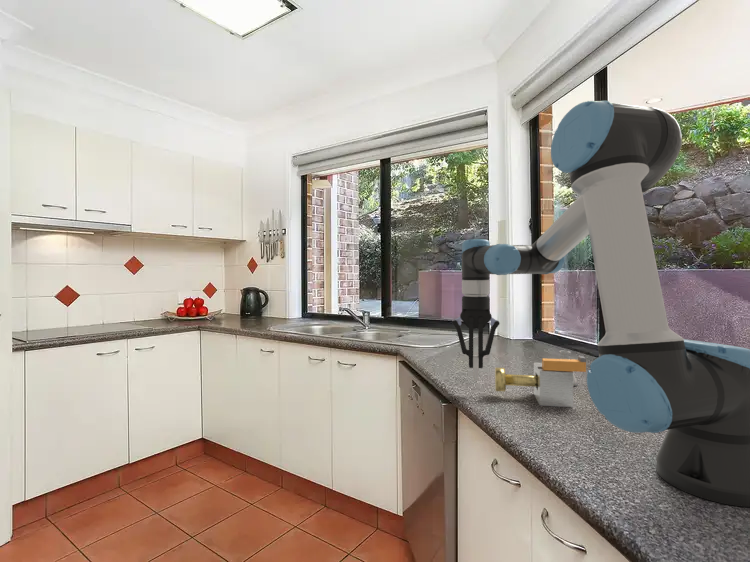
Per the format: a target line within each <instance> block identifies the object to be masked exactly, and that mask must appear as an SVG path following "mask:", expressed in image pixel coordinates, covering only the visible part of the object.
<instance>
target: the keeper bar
mask: <svg viewBox="0 0 750 562" xmlns="http://www.w3.org/2000/svg"><path fill="white" fill-rule="evenodd" d="M541 363H542V368H543V370H550V371H573V373H574V372H578V373H580V372H582V373H586V372H587V358H586V357H585V356H584V355H577V359H575V358H573V359H572V358H571V359H560V358H545V357H544V358H541Z"/></svg>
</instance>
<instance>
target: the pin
mask: <svg viewBox="0 0 750 562" xmlns="http://www.w3.org/2000/svg"><path fill="white" fill-rule="evenodd" d="M506 386H513V387H514V386H516V387H532V388H534V387H538V376H537V375H534V374H512V373H511V374H510V373H506V368H505V367H494V388H495V389H494V390H495V392H506V388H507V387H506Z"/></svg>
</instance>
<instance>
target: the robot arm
mask: <svg viewBox="0 0 750 562" xmlns="http://www.w3.org/2000/svg"><path fill="white" fill-rule="evenodd" d="M682 136H683V135H682V131H681V127H680V124H679V123H678V121H677V120H676V118H675V117H674V116H673V115H672V114H671V113H669V112H667V111H665V110H664V109H662V108H657V107H652V106H639V105H631V104H624V103H623V104H622V103H615V102H611V101H609V100H597V101H596V100H587V101H583V102H580V103H578V104H577V105H575V106H573V107H572V108H571V109H569V111H568V112H567V113H566V114H565V115H564V116H563V117H562V119H561V120H560V122H559V123H558V125H557V128H556V130H555V132H554V135H553V137H552V141H551V146H550V158H551V162H552V164H553V166H554V167H555V168H556V169H558V170H559V172H560V171H561V172H562V173H564V174H569V180H570V186H571V190H572V192H574V193H576V194H577V195H579V196H578V197H577V198H576V199H575V201H573V202H572V204H570V206H568V208H566V210H565V211H563V213H562V214H561V215H560V216H559V217H558V218H557V219H556V220H555V221H554V222H553V223H552V224H551V225H550V226H549V227H548V228H547V229H546V230H545V231H544V232H543V233H542V235H540V236H539V238H537V239H536V240H535V242H534V243H532V244H510V243H509V244H508V243H496V244H492V245H490V241H489V240H488V239H481V238H480V239H479V238H478V239H477V238H475V239H474V238H473V239H466V240H465V239H464V240H463V242H462V243H461V245H462V246H461V278H462V279H461V294H462V296H461V312H460V314H459V317H457V318H455V319H453V320H452V325H453V326H454V327H455V329H456V332H457V337H458V341H459V345H460V349H461V353H462V354H463V355H465V356H468V368H469V369H472V380H473V381H476V382H479V380H480V379H479V377H480V375H479V373H480V370H479V369H483V367H484V357H485V356H489V355H490V354H491V349H492V345H493V341H494V337H495V334H496V331H497V329H498V327H499V325H500V324H501V323H500V321H499V320H498V319H496V318H494V317H492V313H491V311H490V310H491V309H490V308H491V307H490V306H491V304H490V303H491V302H490V300H491V299H490V298H491V297H490V296H489V294H490V293H491V292H490V291H491V288H490V287H491V286H490V284H491V283H490V281H491V280H490V278H491V277H490V276H491V275H497V276H507V275H537V274H538V275H548V274H549V275H550V274H556V273H558V272H560V271H561V270H562V269H563V265H564V264H565V259H566V257H565V256H566V255H567V254H568V253H570V252H571V251H572V250H573V249H574V248H575V247H577V246H578V245H579V244H580V243H581V242H582V241H583V240H585V238H587V237H588V236H589V241H590V246H591V253H592V257H593V258H592V259H593V264H594V269H595V270H594V271H595V276H596V283H597V286H598V294H599V300H600V305H601V311H602V317H603V323H604V329H605V334H604V336H603V337H602V338H601V339H600V340H599V341H598V343H597V349H598V357H597V358H596V359H594V360H593V361H592V362H591V363H590V365H589V368H590V369H588V370H587V371H586V372H587V373H586V385H587V390H588V391H587V392H588V393H589V396H590V399H591V401H592V403H593V405H594V406H595V408H596V410H597V411H598V412H599V413H600V414H601V415H602V416H604V417H605V419H606V421H608V422H609V423H611V424H612V425H613V426H615V427H616V428H618V429H620V430H622V431H624V432H625V431H626V432H629V433H632V434H633V433H635V434H642V433H650V434H658V433H663V432H665V431H666V433H665V436H664V437H663V440H662V442H661V445H660V446H659V449H658V451H657V454H656V457H655V458H656V459H655V460H656V463H655V465H656V467H655V468H656V472H657V474H658V475H659V477H660V478H662V479H663V480H664V481H665V482H667V483H668V484H670V485H671V486H673V487H675V488H677V489H679V490H681V491H682V492H685V493H688V494H690V495H692V496H696V497H698V498H701V499H705V500H709V501H712V502H715V503H719V504H723V505H730V506H735V507H742V508H743V507H745V508H747V507H748V508H750V348H747V347H746V348H745V347H742V346H736V345H730V344H729V345H727V344H723V343H715V342H710V341H709V342H707V341H701V340H694V339H693V340H692V339H685V338H684V337H682V336H681V335H679V333H676V332H675V331H674V330H672V329H671V328H670V327H669V321H668V316H667V310H666V307H665V300H664V296H663V295H664V294H663V290H662V286H661V285H662V284H661V281H660V275H659V272H658V266H657V261H656V255H655V250H654V245H653V240H652V234H651V229H650V225H649V220H648V215H647V209H646V203H645V199H644V195H643V194H645V193H646V192H648V191H649V190H650V189H651V188H652V187H653V186H655V185H656V184H657V183H658V182H659V181H660V180H661V179H662V178H664V176H665V175H666V174H668V171H670V169H671V168H672V167H673V165H674V163H675V162H676V160H677V159H678V157H679V153H680V151H681V149H682V141H683V140H682ZM462 322H463V323H462ZM489 323H490V324H489ZM462 324H465V327H467V328H468V349H467V346H466V342H465V339H464V334H463V331H462V327H461V325H462ZM488 324H489V325H490V329H489V333H488V336H487V342H486V345H485V349H484V328H486V326H487V325H488ZM474 329H477V333H478V334H477V340H478V341H477V346H478V347H477V350H478V352H477V355H476V354H475V355H474Z"/></svg>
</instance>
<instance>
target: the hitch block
mask: <svg viewBox="0 0 750 562" xmlns="http://www.w3.org/2000/svg"><path fill="white" fill-rule="evenodd" d="M573 373H574V371H573V372H572V371H550V370H543V368H542V362H537V361H536V362H533V375H537V376H538V387H533V395H534V398H535V399H536V401H537V403H538V404H539V406H545V407H559V408H560V407H564V408H574V386H573Z"/></svg>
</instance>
